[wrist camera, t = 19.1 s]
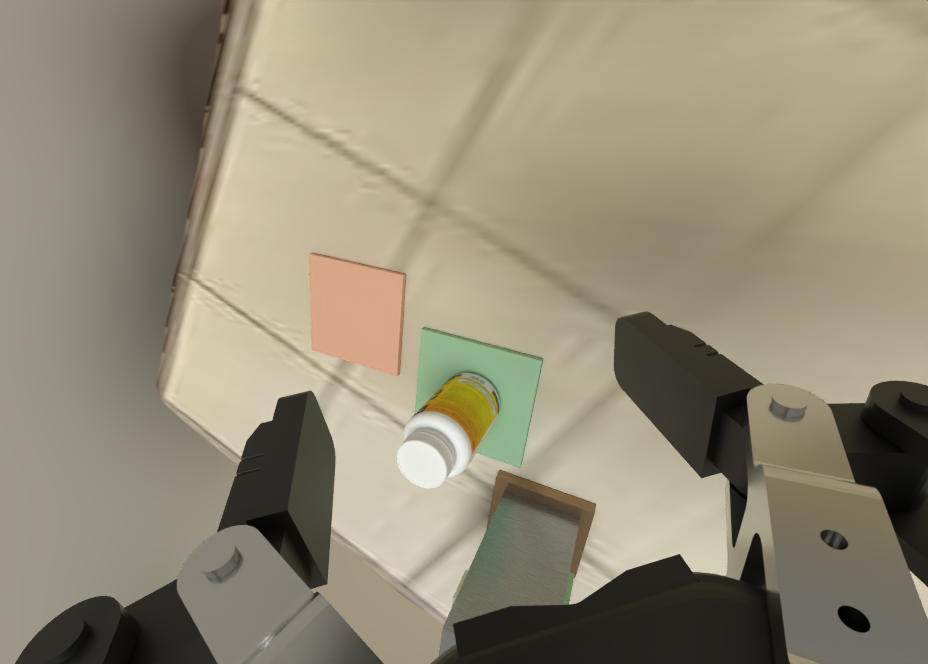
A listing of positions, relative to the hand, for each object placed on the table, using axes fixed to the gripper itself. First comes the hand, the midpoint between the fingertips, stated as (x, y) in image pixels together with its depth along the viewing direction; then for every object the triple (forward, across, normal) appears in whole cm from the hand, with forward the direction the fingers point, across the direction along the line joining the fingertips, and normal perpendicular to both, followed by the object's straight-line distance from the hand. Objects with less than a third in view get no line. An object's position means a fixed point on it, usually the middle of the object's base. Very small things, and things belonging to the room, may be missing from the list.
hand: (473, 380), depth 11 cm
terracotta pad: (+30, +6, +11) cm, 32 cm away
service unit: (+17, -6, +30) cm, 35 cm away
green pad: (+22, -3, +18) cm, 29 cm away
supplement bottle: (+22, -3, +18) cm, 29 cm away
